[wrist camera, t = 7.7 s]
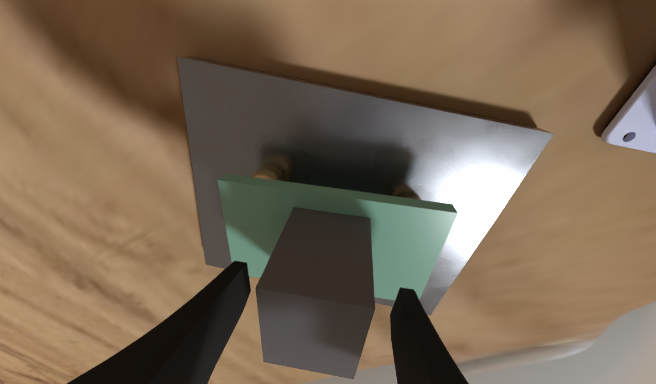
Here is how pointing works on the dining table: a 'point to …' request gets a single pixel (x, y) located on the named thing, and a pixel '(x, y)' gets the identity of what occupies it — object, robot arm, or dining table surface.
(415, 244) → the board
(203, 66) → the plate
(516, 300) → the dining table surface
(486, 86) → the dining table surface
